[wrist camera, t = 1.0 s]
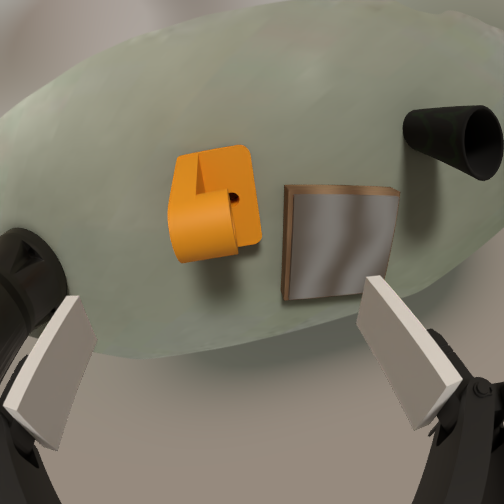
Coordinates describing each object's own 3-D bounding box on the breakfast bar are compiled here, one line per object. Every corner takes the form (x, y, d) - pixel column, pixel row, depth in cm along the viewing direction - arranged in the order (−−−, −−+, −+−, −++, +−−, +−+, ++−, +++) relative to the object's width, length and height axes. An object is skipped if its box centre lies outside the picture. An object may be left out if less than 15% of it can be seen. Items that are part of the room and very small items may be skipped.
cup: (392, 101, 27) (459, 101, 17) (436, 103, 27) (502, 108, 17) (398, 160, 31) (462, 184, 20) (440, 157, 31) (503, 179, 20)
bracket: (260, 233, 34) (276, 289, 23) (200, 243, 34) (189, 302, 23) (247, 143, 29) (258, 154, 18) (181, 154, 29) (154, 174, 18)
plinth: (280, 290, 37) (284, 303, 35) (284, 184, 31) (289, 191, 29) (374, 282, 38) (383, 293, 36) (390, 187, 32) (402, 193, 30)
